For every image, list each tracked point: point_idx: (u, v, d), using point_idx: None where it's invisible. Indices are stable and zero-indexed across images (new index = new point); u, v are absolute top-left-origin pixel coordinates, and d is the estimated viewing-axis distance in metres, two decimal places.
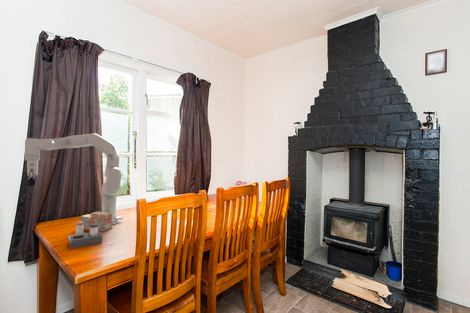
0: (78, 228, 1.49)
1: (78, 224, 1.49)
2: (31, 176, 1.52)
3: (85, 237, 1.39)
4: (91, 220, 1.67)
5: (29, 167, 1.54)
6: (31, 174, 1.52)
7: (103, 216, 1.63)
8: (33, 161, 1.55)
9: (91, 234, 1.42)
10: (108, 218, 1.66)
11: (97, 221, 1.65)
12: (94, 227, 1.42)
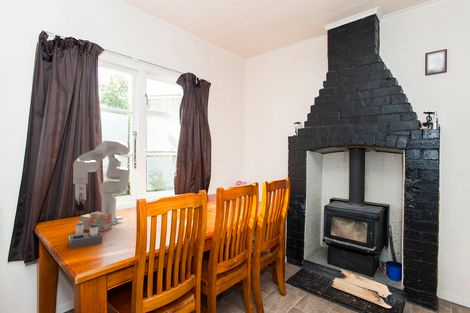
0: (78, 228, 1.49)
1: (78, 224, 1.49)
2: (81, 201, 1.45)
3: (85, 237, 1.39)
4: (90, 220, 1.67)
5: (78, 191, 1.46)
6: (81, 199, 1.44)
7: (102, 216, 1.63)
8: (82, 185, 1.47)
9: (91, 234, 1.42)
10: (108, 218, 1.66)
11: (96, 221, 1.65)
12: (94, 227, 1.42)
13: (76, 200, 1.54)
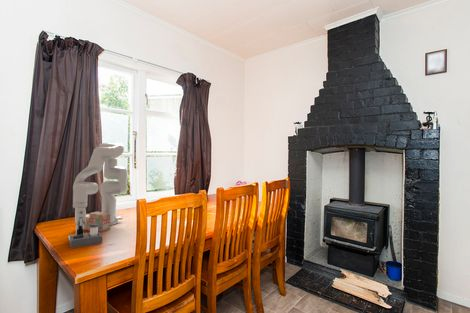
0: None
1: None
2: (80, 226, 1.47)
3: (85, 237, 1.39)
4: (89, 220, 1.67)
5: (78, 215, 1.46)
6: (81, 226, 1.46)
7: (101, 216, 1.63)
8: (82, 209, 1.47)
9: (91, 234, 1.42)
10: (107, 219, 1.65)
11: (95, 222, 1.65)
12: (94, 227, 1.42)
13: None
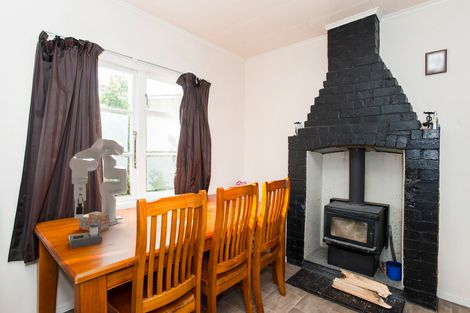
0: None
1: None
2: (80, 204, 1.35)
3: (85, 237, 1.39)
4: (88, 220, 1.66)
5: (78, 192, 1.34)
6: (80, 203, 1.34)
7: (100, 216, 1.62)
8: (82, 185, 1.36)
9: (91, 234, 1.42)
10: (105, 219, 1.65)
11: (94, 222, 1.64)
12: (94, 227, 1.42)
13: None
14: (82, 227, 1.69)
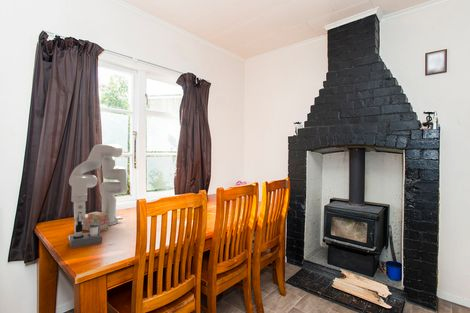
0: None
1: None
2: (79, 222, 1.35)
3: (85, 237, 1.39)
4: (88, 220, 1.66)
5: (77, 210, 1.35)
6: (80, 221, 1.34)
7: (99, 216, 1.62)
8: (81, 203, 1.36)
9: (91, 234, 1.42)
10: (105, 219, 1.65)
11: (93, 222, 1.64)
12: (94, 227, 1.42)
13: None
14: None
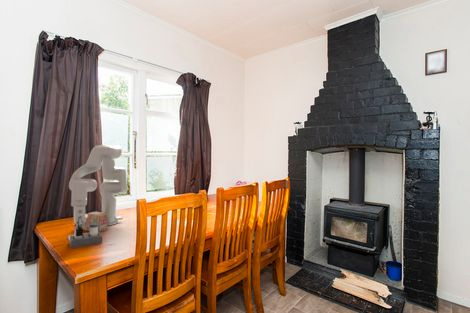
0: None
1: None
2: (80, 226, 1.34)
3: (85, 237, 1.39)
4: (87, 220, 1.66)
5: (77, 215, 1.35)
6: (80, 224, 1.33)
7: (98, 217, 1.62)
8: (81, 207, 1.36)
9: (91, 234, 1.42)
10: (104, 219, 1.64)
11: (93, 222, 1.64)
12: (94, 227, 1.42)
13: (75, 224, 1.43)
14: None
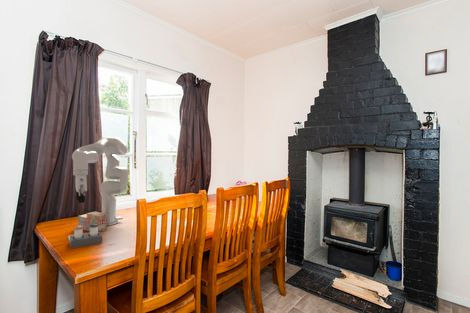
0: (77, 233, 1.37)
1: (77, 228, 1.37)
2: (82, 193, 1.41)
3: (85, 237, 1.39)
4: (86, 220, 1.66)
5: (79, 183, 1.43)
6: (82, 191, 1.41)
7: (97, 217, 1.61)
8: (83, 176, 1.44)
9: (91, 234, 1.42)
10: (103, 219, 1.64)
11: (91, 222, 1.64)
12: (94, 227, 1.42)
13: None
14: None
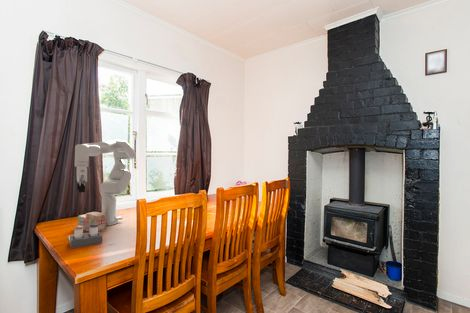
0: (77, 233, 1.37)
1: (77, 228, 1.37)
2: (82, 183, 1.51)
3: (85, 237, 1.39)
4: (86, 220, 1.66)
5: (80, 173, 1.53)
6: (82, 181, 1.51)
7: (96, 217, 1.61)
8: (83, 167, 1.54)
9: (91, 234, 1.42)
10: (101, 219, 1.63)
11: (90, 222, 1.64)
12: (94, 227, 1.42)
13: None
14: None
